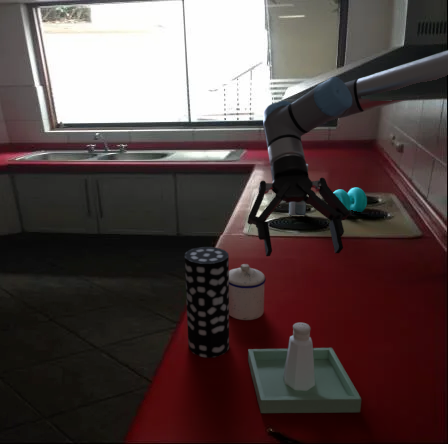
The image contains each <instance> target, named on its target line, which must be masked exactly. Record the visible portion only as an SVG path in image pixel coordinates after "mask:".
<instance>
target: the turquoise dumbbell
mask: <svg viewBox="0 0 448 444" xmlns="http://www.w3.org/2000/svg"><path fill="white" fill-rule="evenodd" d="M332 192H333V193H334V194H335V195H336V196H337V198H338V199H339V200H340V201H341V202H342V203H343V205H344V206H345V207H346V208H347V209H348V210H349V211H351V210H353V211H357V212H361V213H362V212H364V211H365V210H366V207H367V204H368V197H367V194H366V192H365V191H364V190H363V189H362V188H361V187H351V188H350V189H349V190H348V192H347V191H346V190H344V189H342V188H341V189H339V188H338V189H336V190H334V191H332Z"/></svg>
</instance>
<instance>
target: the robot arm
mask: <svg viewBox="0 0 448 444" xmlns="http://www.w3.org/2000/svg"><path fill="white" fill-rule="evenodd" d="M447 75H448V49H447V50H444V51H441V52H438V53H435V54H432V55H429V56H425V57H422V58H420V59H416V60H413V61H409V62H407V63H406V62H405V63H403V64H400V65H397V66H394V67H392V68H391V67H390V68H388V69H385V70H381V71H378V72H375V73H372V74H369V75H366V76H363V77H360V78H357V79H356V78H355V79H353V80H349V81H346V82H344V80H343V79H340V78H339V77H337V76H332V77H330V78H328V79H326V80H325V81H323V82H320V83H319V84H317V85H316V86H315V87H314V88H312V89H311V90H310V91H308V92H306V93H305V94H303V95H302V96H300V97H299V98H298V99H296V100H294V101H293V102H290V101H288V100H279V101H278V102H272V103H271V104H269V105H268V106H266V108H265V109H264V111H263V113H262V122H263V124H262V127H263V132H264V136H265V142H266V146H267V147H266V148H267V154H268V159H269V166H270V175H271V181H272V183H271V182H267V181H266V180H261V181H259V185H258V186H259V187H258V194H257V196H256V198H255V200H254V202H253V205H252V207H251V209H250V212H249V214H248V217H247V221H246V222H247V224H248V225H253V226H255V227H256V229H257V236H258V239H259V241H263V242H264V243H263V244H264V252H265V257H271V254H272V252H273V247H272V241H271V233H270V227H269V221H268V219H269V217H270V216H271V215H272V214H273V213H274V211H275V210H276V209H277V207H278V206H280V204H281V203H282V202H285V203H286V204H287V203H288V204H289V203H290V202H301V201H302V200H303V201H304V202H305V203H306V205H310V206H311V207H312V208H314V209H315V210H316V211H318V212H319V213H320V214H321V215H323V216H324V217H325V218H326V219H327V220H329V221H330V222H329V224H328V227H329V233H330V236H331V241H332V246H333V249H334V254H341V251H342V250H344V245H343V241H342V236H343V235H344V233H345V230H344V225H343V221H346V220H347V219H348V217H349V215H350V214H351V213H350V212H351V211H350V209H349V210H348V209H347V208H346V207H345V206H344V205H343V203H342V202H341V201H340V200H339V199H338V198H337V196H336V195H335V194H334V193H333V192H334V191H333V190H332V189H331V188H330V187H329V186H328V183H327V181H326V178H324V177H320V178H319V179H317V180H311V179H310V176H309V169H308V170H307V166H306V164H307V161H306V156H305V152H304V148H303V147H304V146H303V143H302V136H304V135H306V134H308V133H310V132H311V131H313V130H315V129H317V128H318V127H320V126H322V125H324V124H325V123H327V122H330V121H334V120H338V119H342V118H347V117H349V116H352V115H353V116H354V115H356V114H359V113H364V112H367V111H370V110H374V109H378V108H383V107H385V106H390V105H394V104H397V103H401V102H405V101H406V100H392V101H369V100H370V99H362V98H361V96H366V95H372V94H376V93H382V92H386V91H391V90H397V89H400V88H403V87H406V86H409V85H412V84H416V83H420V82H427V81H432V80H437V79H439V78H442V77H445V76H447ZM313 189H315V191H316V192H318V194H319V195H320V196H321V197H320V196H318V195H317V194H316V192H315V191H314V190H313ZM270 191H272V192H273V193H274V194H275V196H274V197H273V199H272V200H271V201H269V203H268V204H267V206H266V207H265V209H264V210H263V211H262V212H261V213H260V215H259V216H257V215H258V212H259V210H260V207H261V205H262V204H263V200H264V198H265V195H266V194H269V192H270Z"/></svg>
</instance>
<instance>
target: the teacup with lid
mask: <svg viewBox="0 0 448 444" xmlns="http://www.w3.org/2000/svg"><path fill="white" fill-rule="evenodd" d="M265 283H266V276H265V274H264V273H263V272H262V271H260V269H259V270H258V269H257V268H252V267H251V266H250V265H249V264H248V263H243V264H240V267H237V268H232V269H229V317H232V318H233V319H237V320H240V321H253V320H256V319H259V318H261V317H262V316H263V314H264V312H265Z"/></svg>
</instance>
